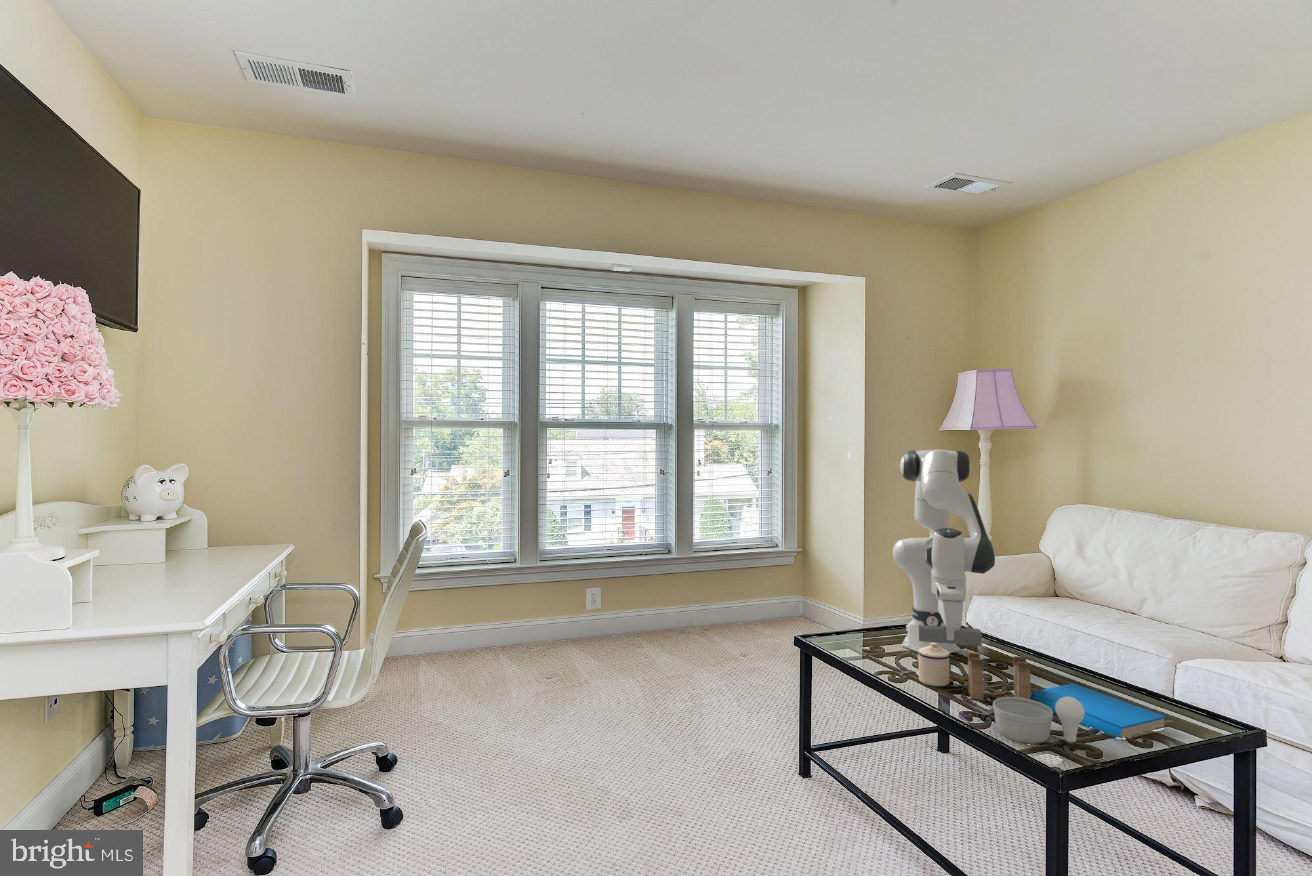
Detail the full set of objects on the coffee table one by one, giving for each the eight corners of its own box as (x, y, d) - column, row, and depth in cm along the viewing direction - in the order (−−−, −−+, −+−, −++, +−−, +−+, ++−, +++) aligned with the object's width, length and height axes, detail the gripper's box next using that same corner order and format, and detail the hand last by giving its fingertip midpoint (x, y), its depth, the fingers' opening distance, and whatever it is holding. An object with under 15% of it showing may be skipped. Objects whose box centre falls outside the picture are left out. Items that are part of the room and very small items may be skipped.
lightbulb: (1050, 740, 164) (1050, 696, 164) (1063, 735, 168) (1063, 690, 168) (1076, 750, 159) (1076, 704, 159) (1089, 744, 162) (1089, 699, 162)
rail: (918, 637, 192) (917, 624, 192) (979, 642, 187) (979, 629, 187) (919, 641, 188) (919, 628, 188) (981, 645, 184) (981, 632, 184)
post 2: (1013, 695, 193) (1013, 656, 193) (1025, 696, 192) (1025, 657, 192) (1018, 703, 187) (1018, 662, 187) (1030, 704, 186) (1030, 663, 186)
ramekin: (1012, 747, 161) (1012, 718, 161) (982, 724, 174) (982, 697, 174) (1065, 745, 162) (1065, 716, 162) (1030, 722, 175) (1030, 695, 175)
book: (1072, 682, 194) (1166, 714, 170) (1072, 698, 193) (1166, 731, 170) (1029, 691, 187) (1121, 725, 164) (1029, 707, 187) (1121, 743, 164)
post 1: (968, 691, 197) (968, 652, 197) (979, 692, 196) (979, 653, 196) (971, 699, 191) (971, 658, 191) (983, 700, 190) (983, 659, 190)
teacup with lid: (956, 685, 201) (956, 646, 201) (930, 688, 199) (930, 649, 199) (931, 671, 213) (931, 635, 213) (906, 674, 211) (905, 637, 211)
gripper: (932, 579, 199) (932, 626, 199) (940, 594, 179) (941, 646, 179) (955, 580, 197) (956, 627, 197) (966, 596, 177) (966, 648, 177)
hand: (948, 637), depth 188 cm, fingers closed on rail, 4 cm apart
